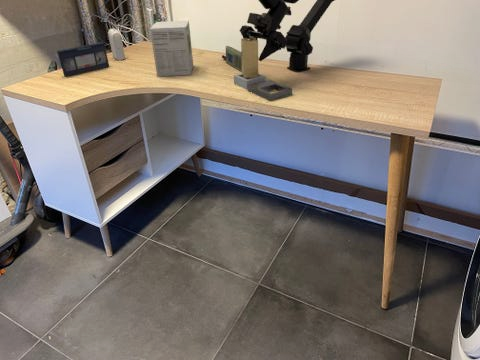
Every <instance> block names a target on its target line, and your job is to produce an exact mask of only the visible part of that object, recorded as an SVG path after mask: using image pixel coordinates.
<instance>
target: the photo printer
mask: <svg viewBox="0 0 480 360" xmlns="http://www.w3.org/2000/svg"><path fill="white" fill-rule="evenodd" d="M107 34H108V35H107V36H108V40H109V43H110V47H111V48H110V49H111V54H112V56H113V58H114V59H116V61H124V60H125V59H126V53H125V49H124V45H123V39H122V35H121V33H120V31H118V29H116V28H109V30H108V32H107ZM123 59H124V60H123Z"/></svg>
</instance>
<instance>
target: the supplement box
mask: <svg viewBox="0 0 480 360" xmlns="http://www.w3.org/2000/svg"><path fill="white" fill-rule="evenodd" d="M149 33H150V38H151V44H152V51H153V52H152V53H153V57H154V64H155V65H154V66H155V70H156V76H157V77H168V76H169V77H170V76H190V75H191V73H192V70H193V68H194V58H193V57H194V56H193V50H192V49H193V48H192V38H191V30H190V20H175V21H173V20H171V21H156V22H155V23H154V24H152V26H151V27H150V28H149Z"/></svg>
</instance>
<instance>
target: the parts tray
mask: <svg viewBox="0 0 480 360" xmlns="http://www.w3.org/2000/svg"><path fill="white" fill-rule="evenodd" d="M266 79H267V78H266V75H264V74H261V73H259V72H258V77H256V78H243V75H242V73H239V74H234V75H233V83H235V84H234V85H236V84H237V85H236V86H238V85H239V86H238V87H240V86H241V87H240V88H242V87H243V88H242V89H245V90H248V85H251V84H255V83H259V82H263V81H266Z"/></svg>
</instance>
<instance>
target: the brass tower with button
mask: <svg viewBox="0 0 480 360" xmlns="http://www.w3.org/2000/svg"><path fill="white" fill-rule="evenodd" d="M240 46H241V47H240V49H241V51H240V52H241V56H242V72H241V74H242V75H243V78H256V77H258V73H259V39H256V38H243V37H242V38H240Z"/></svg>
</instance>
